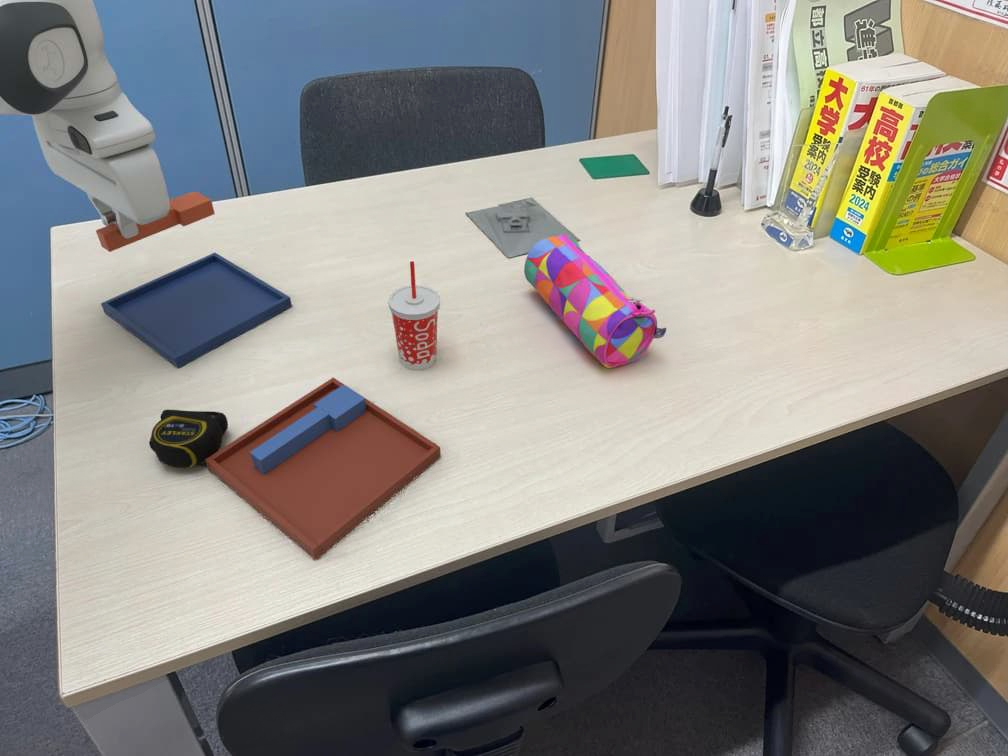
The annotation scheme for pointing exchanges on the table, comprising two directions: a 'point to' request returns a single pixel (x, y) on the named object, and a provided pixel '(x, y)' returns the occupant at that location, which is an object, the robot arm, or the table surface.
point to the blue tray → (196, 308)
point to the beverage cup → (415, 323)
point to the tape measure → (187, 437)
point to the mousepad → (518, 225)
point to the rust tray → (326, 471)
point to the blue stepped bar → (310, 427)
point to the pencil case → (590, 302)
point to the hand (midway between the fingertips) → (121, 230)
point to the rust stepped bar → (161, 220)
